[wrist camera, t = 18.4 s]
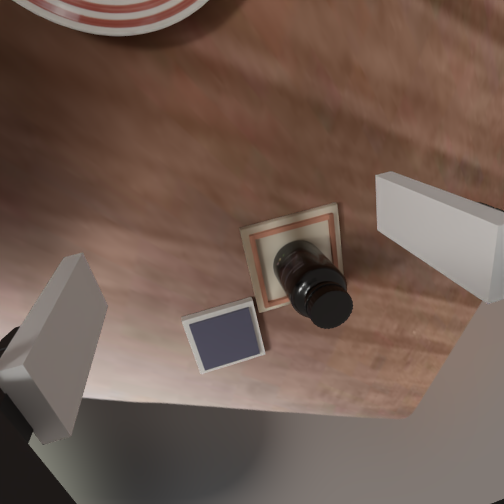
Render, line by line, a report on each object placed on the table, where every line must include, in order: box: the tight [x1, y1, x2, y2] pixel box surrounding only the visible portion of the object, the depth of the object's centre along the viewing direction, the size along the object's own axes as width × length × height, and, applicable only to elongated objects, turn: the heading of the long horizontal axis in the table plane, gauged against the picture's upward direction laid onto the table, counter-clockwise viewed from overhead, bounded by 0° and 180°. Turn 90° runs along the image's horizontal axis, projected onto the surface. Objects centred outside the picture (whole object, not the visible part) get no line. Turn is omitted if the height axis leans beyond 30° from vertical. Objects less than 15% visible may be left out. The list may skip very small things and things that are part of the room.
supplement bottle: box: [273, 240, 353, 329], centre depth 42 cm, size 7×7×12 cm
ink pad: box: [181, 297, 265, 374], centre depth 50 cm, size 10×10×1 cm
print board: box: [239, 202, 344, 313], centre depth 47 cm, size 13×13×1 cm
